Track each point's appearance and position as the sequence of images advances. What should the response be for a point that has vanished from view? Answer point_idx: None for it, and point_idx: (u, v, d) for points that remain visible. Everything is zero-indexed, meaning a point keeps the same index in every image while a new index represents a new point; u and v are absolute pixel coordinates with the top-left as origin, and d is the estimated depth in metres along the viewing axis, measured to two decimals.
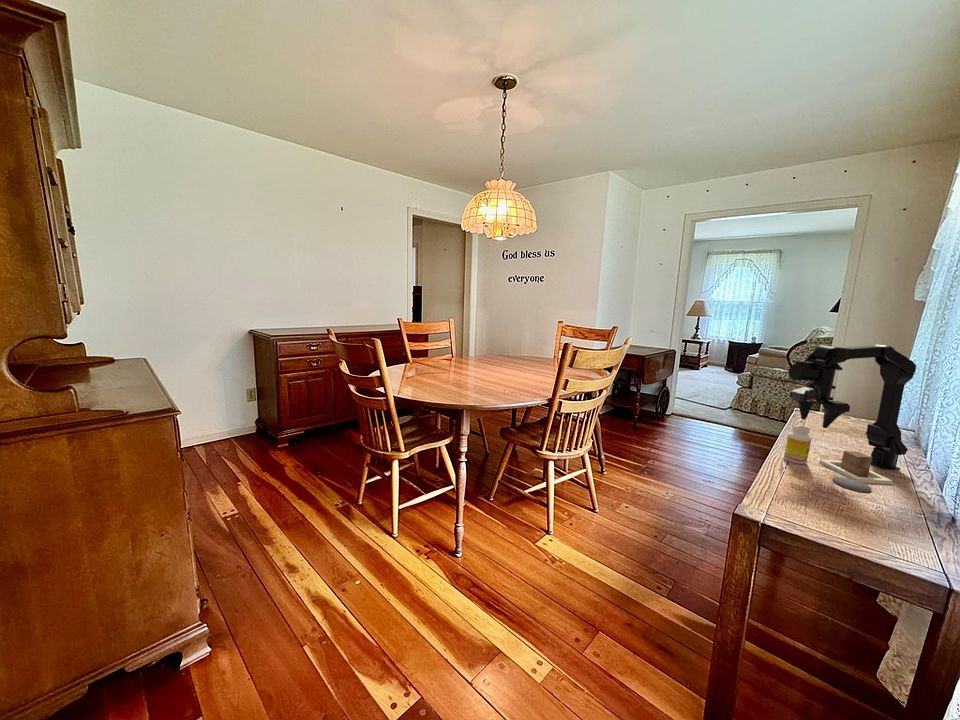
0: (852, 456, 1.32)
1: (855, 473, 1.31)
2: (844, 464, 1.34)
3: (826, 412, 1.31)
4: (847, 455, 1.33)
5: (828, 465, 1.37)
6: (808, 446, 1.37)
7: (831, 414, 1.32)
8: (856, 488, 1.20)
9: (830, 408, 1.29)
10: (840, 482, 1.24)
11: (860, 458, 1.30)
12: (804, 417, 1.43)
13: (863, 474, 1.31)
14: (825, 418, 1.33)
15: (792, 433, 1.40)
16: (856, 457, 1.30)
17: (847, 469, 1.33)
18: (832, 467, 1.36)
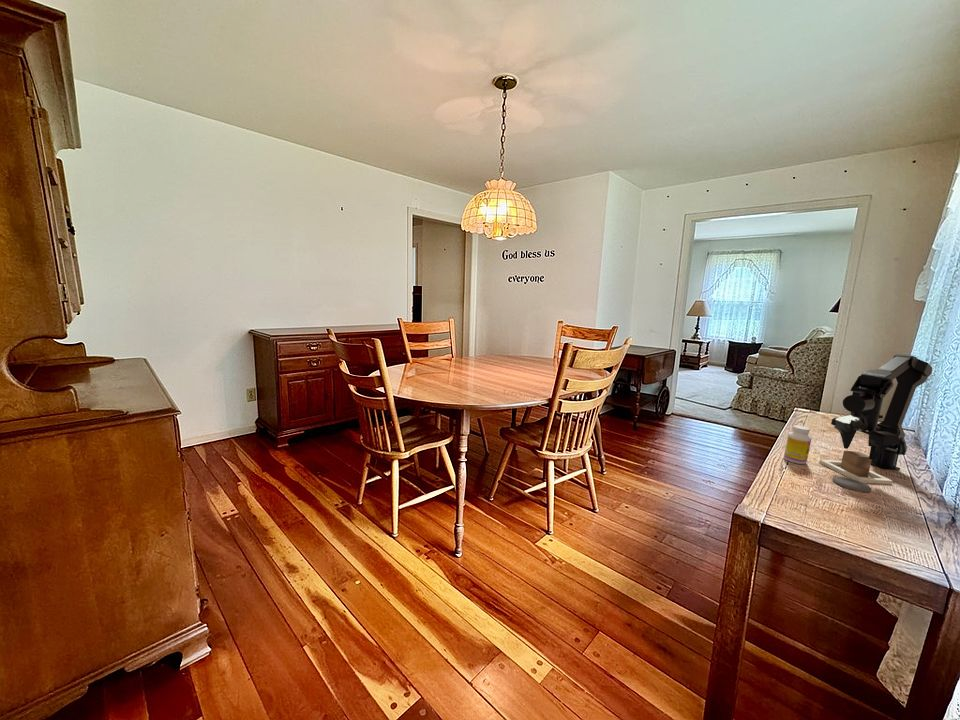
0: (852, 456, 1.32)
1: (855, 473, 1.31)
2: (844, 464, 1.34)
3: (874, 443, 1.25)
4: (847, 455, 1.33)
5: (828, 465, 1.37)
6: (808, 446, 1.37)
7: (879, 445, 1.26)
8: (856, 488, 1.20)
9: (879, 440, 1.23)
10: (840, 482, 1.24)
11: (860, 458, 1.30)
12: (847, 446, 1.37)
13: (863, 474, 1.31)
14: (872, 449, 1.26)
15: (792, 433, 1.40)
16: (856, 457, 1.30)
17: (847, 469, 1.33)
18: (832, 467, 1.36)
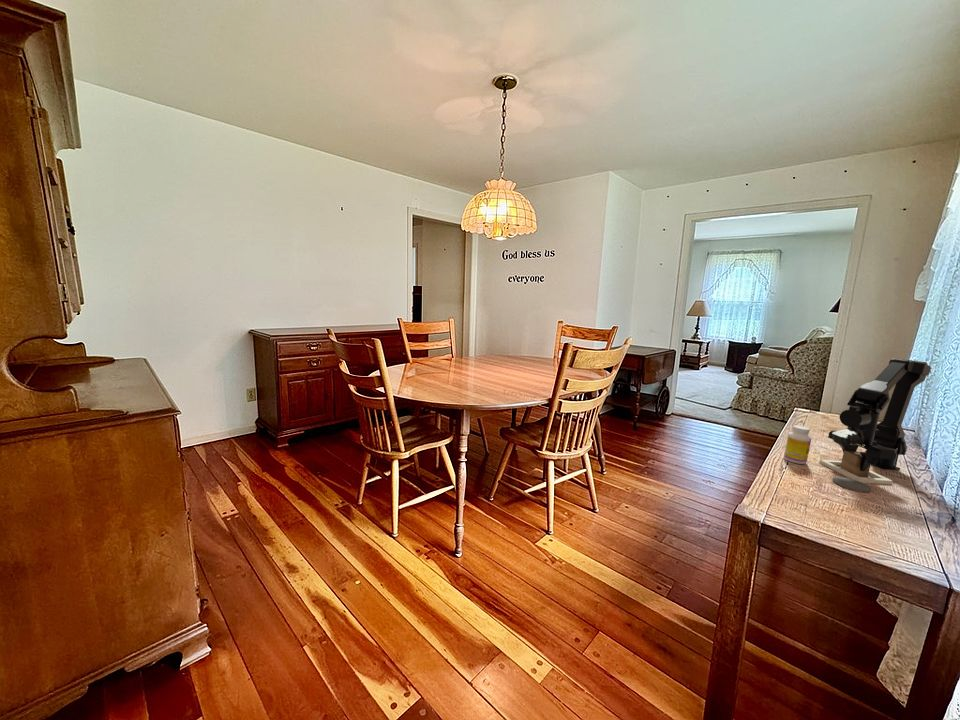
0: (852, 456, 1.32)
1: (855, 473, 1.31)
2: (844, 464, 1.34)
3: (865, 455, 1.28)
4: (847, 455, 1.33)
5: (828, 465, 1.37)
6: (808, 446, 1.37)
7: (869, 457, 1.28)
8: (856, 488, 1.20)
9: (875, 455, 1.23)
10: (840, 482, 1.24)
11: (860, 458, 1.30)
12: None
13: (863, 474, 1.31)
14: (863, 461, 1.29)
15: (792, 433, 1.40)
16: (856, 457, 1.30)
17: (847, 469, 1.33)
18: (832, 467, 1.36)
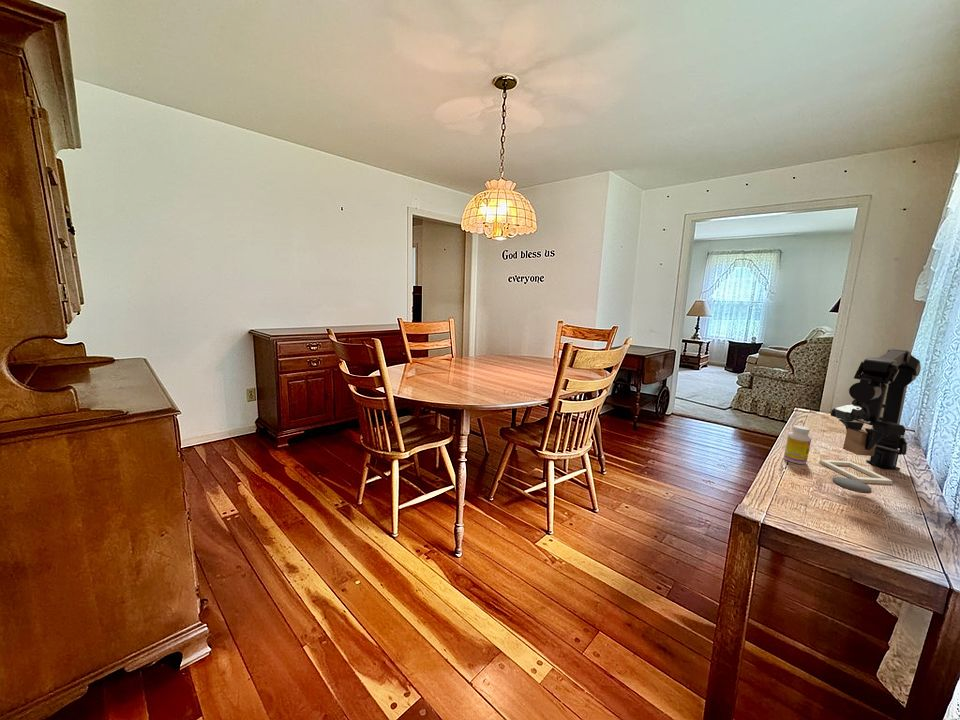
0: (856, 433, 1.21)
1: (860, 452, 1.20)
2: (848, 442, 1.24)
3: (870, 432, 1.17)
4: (851, 433, 1.23)
5: (828, 465, 1.37)
6: (808, 446, 1.37)
7: (876, 434, 1.18)
8: (856, 488, 1.20)
9: (882, 430, 1.13)
10: (840, 482, 1.24)
11: (866, 435, 1.19)
12: None
13: (868, 453, 1.20)
14: (869, 439, 1.19)
15: (792, 433, 1.40)
16: (861, 434, 1.20)
17: (851, 448, 1.23)
18: (832, 467, 1.36)
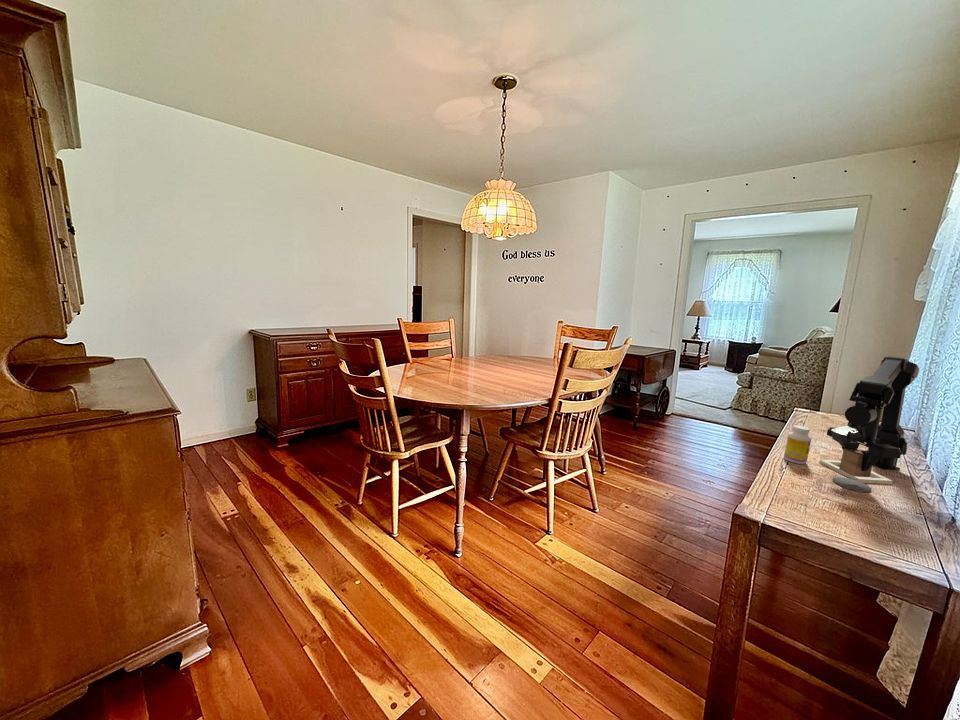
0: (853, 455, 1.21)
1: (856, 473, 1.20)
2: (844, 463, 1.24)
3: (866, 454, 1.17)
4: (847, 454, 1.23)
5: (828, 465, 1.37)
6: (808, 446, 1.37)
7: (872, 456, 1.18)
8: (856, 488, 1.20)
9: (878, 453, 1.13)
10: (840, 482, 1.24)
11: (862, 457, 1.20)
12: None
13: (864, 474, 1.20)
14: (865, 461, 1.19)
15: (792, 433, 1.40)
16: (857, 456, 1.20)
17: (847, 469, 1.23)
18: (832, 467, 1.36)
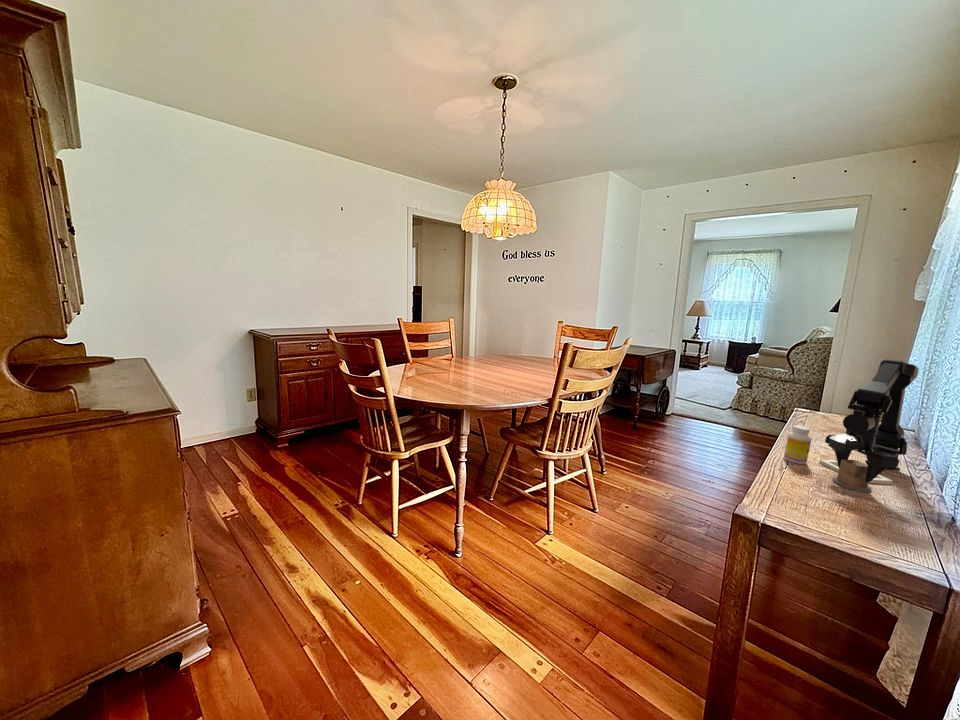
0: (850, 465, 1.22)
1: (853, 484, 1.21)
2: (842, 474, 1.24)
3: (871, 465, 1.16)
4: (845, 464, 1.24)
5: (828, 465, 1.37)
6: (808, 446, 1.37)
7: (876, 467, 1.17)
8: (856, 488, 1.20)
9: (876, 462, 1.13)
10: (840, 482, 1.24)
11: (859, 468, 1.20)
12: None
13: (862, 485, 1.21)
14: (869, 471, 1.17)
15: (792, 433, 1.40)
16: (854, 466, 1.20)
17: (845, 479, 1.23)
18: (832, 467, 1.36)
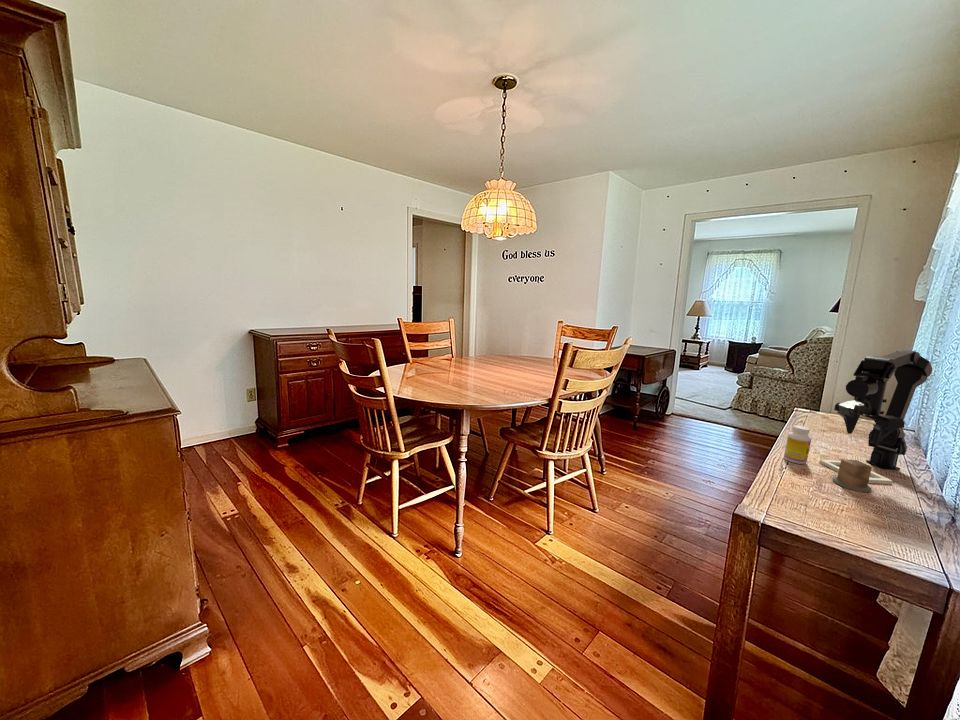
0: (850, 465, 1.22)
1: (853, 484, 1.21)
2: (842, 474, 1.24)
3: (878, 428, 1.24)
4: (845, 464, 1.24)
5: (828, 465, 1.37)
6: (808, 446, 1.37)
7: (883, 429, 1.25)
8: (856, 488, 1.20)
9: (883, 424, 1.22)
10: (840, 482, 1.24)
11: (859, 468, 1.20)
12: (850, 431, 1.36)
13: (862, 485, 1.21)
14: (877, 434, 1.26)
15: (792, 433, 1.40)
16: (854, 466, 1.20)
17: (845, 479, 1.23)
18: (832, 467, 1.36)
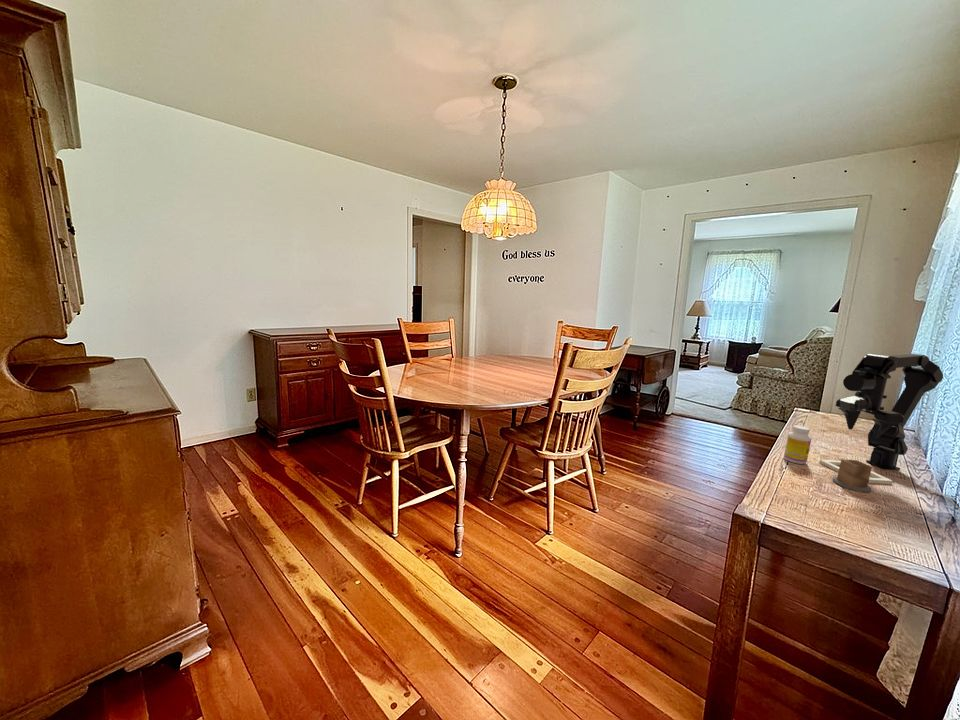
0: (850, 465, 1.22)
1: (853, 484, 1.21)
2: (842, 474, 1.24)
3: (878, 422, 1.28)
4: (845, 464, 1.24)
5: (828, 465, 1.37)
6: (808, 446, 1.37)
7: (883, 424, 1.29)
8: (856, 488, 1.20)
9: (883, 418, 1.25)
10: (840, 482, 1.24)
11: (859, 468, 1.20)
12: (851, 427, 1.39)
13: (862, 485, 1.21)
14: (876, 428, 1.29)
15: (792, 433, 1.40)
16: (854, 466, 1.20)
17: (845, 479, 1.23)
18: (832, 467, 1.36)
